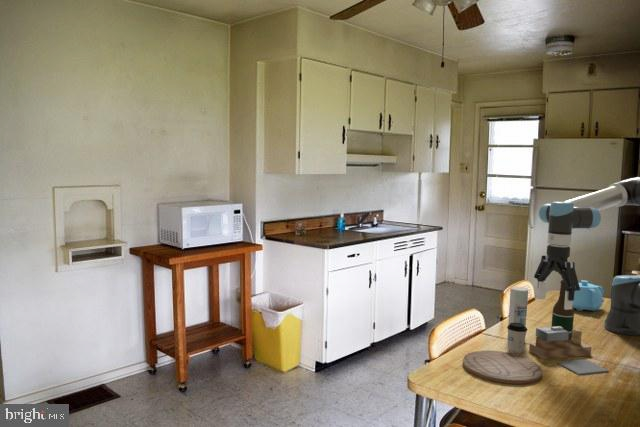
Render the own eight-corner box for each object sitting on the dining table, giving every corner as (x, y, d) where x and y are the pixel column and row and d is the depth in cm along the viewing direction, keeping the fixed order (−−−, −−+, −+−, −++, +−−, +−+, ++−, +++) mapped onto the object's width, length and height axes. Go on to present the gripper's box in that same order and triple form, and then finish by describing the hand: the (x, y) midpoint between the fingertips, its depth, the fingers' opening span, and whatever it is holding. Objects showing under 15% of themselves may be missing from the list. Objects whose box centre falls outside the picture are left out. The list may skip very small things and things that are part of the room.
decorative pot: (572, 302, 259) (574, 275, 257) (606, 309, 247) (609, 281, 245) (558, 307, 248) (559, 279, 247) (593, 315, 236) (595, 286, 235)
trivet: (513, 353, 186) (513, 348, 186) (559, 383, 162) (559, 377, 161) (449, 357, 181) (450, 352, 180) (487, 388, 156) (487, 382, 156)
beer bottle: (574, 345, 195) (579, 283, 193) (552, 343, 197) (557, 282, 195) (569, 338, 203) (573, 279, 201) (548, 336, 205) (552, 277, 202)
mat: (585, 360, 180) (585, 359, 180) (608, 371, 171) (608, 370, 171) (556, 363, 177) (557, 361, 177) (578, 375, 167) (578, 373, 167)
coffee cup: (525, 349, 190) (527, 323, 189) (526, 355, 183) (528, 328, 182) (505, 346, 192) (507, 320, 191) (505, 353, 185) (507, 326, 184)
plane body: (574, 347, 193) (576, 326, 192) (590, 354, 186) (592, 333, 185) (529, 351, 188) (530, 329, 187) (544, 359, 180) (545, 337, 179)
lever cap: (556, 334, 189) (557, 324, 189) (568, 339, 183) (568, 329, 183) (535, 335, 187) (536, 325, 186) (546, 341, 181) (547, 331, 181)
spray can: (517, 335, 206) (520, 286, 204) (528, 340, 199) (532, 290, 197) (503, 336, 204) (506, 287, 202) (514, 341, 197) (518, 291, 195)
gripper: (526, 240, 193) (522, 295, 195) (576, 251, 169) (571, 314, 171) (543, 239, 195) (539, 294, 197) (594, 251, 171) (589, 313, 173)
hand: (554, 303), depth 184 cm, fingers open, 13 cm apart
